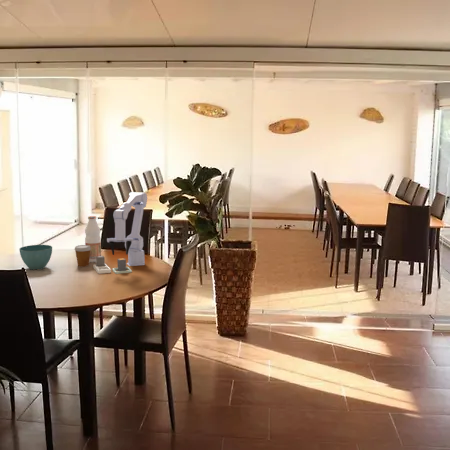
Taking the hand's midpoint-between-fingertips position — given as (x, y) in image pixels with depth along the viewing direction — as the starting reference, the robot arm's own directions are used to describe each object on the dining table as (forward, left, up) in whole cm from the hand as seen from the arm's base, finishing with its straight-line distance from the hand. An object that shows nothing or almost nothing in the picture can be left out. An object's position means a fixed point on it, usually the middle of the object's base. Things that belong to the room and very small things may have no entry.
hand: (120, 254), depth 321 cm
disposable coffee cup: (+17, -23, -10) cm, 30 cm away
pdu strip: (+9, -7, -10) cm, 15 cm away
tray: (-1, 0, -10) cm, 10 cm away
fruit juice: (+9, -34, -10) cm, 37 cm away
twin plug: (+9, -11, -10) cm, 17 cm away
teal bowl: (+43, -28, -11) cm, 52 cm away
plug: (-1, 0, -10) cm, 10 cm away
